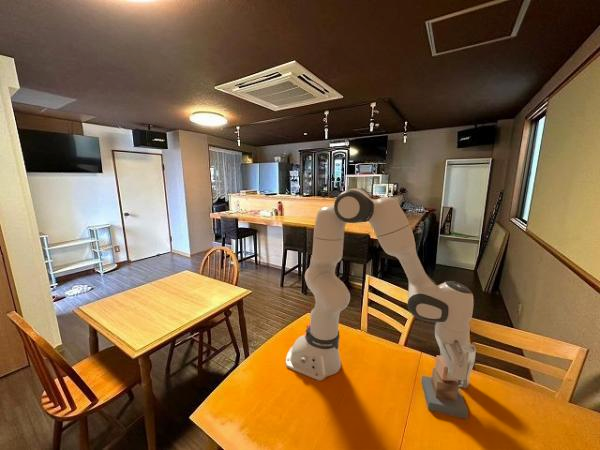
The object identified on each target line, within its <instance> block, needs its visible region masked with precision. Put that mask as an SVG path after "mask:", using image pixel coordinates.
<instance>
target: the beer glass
mask: <svg viewBox="0 0 600 450" xmlns="http://www.w3.org/2000/svg"><path fill="white" fill-rule="evenodd" d="M462 349H463V350H464V352H465V354H466V357H467V376H466V380H464V381H462V380H459V381H457V383H458V386H459V389H460V388H461V389H467V388H469V387H470V374H471V372H472V370H473V367H474V365H475V361H476V350H477V349H476V347H475V345H473V344H472V343H471V342H469V341H468V343H467V344H466V345H463V346H462Z"/></svg>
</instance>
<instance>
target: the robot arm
mask: <svg viewBox="0 0 600 450" xmlns="http://www.w3.org/2000/svg"><path fill="white" fill-rule="evenodd" d="M367 222H368V223H369V224H370V226H371V227H372V229H373V232H374V234H375V236H376V239H377V241H378V243H379V246H380V247H381V248H382V250H383V251H384V252H385V253H386V255H389V256H391V257H395V258H396V259H398V261H399V263H400V264H401V267H402V268H403V270H404V273H405V274H406V275H405V276H406V278H407V280H408V285H407V291H408V292H407V293H408V295H407V309H408V311H409V312H410V314H411V315H412V316H413V317H415V318H416V319H418V320H421V321H426V322H433V323H434V337H435V339H436V343H437V345H438V347H439V348H438V349H439V352H440V353H439V355H441V356H443V358H444V360H445V363H446V365H447V368H448V370H447V372H446V375H447V378H448V379H452V380H453V379H457V380H462V381H464V380H466V376H467V357H466V354H465V352H464V350H463V349H462V346H463V345H466V344H467V343H468V342H469V338H470V331H471V330H470V329H471V324H470V323H471V322H470V321H471V319H472V317H473V311H474V294H473V292H472V291H471V290H470V289H469V288H468V287H467V286H466V285H464V284H462V283H460V282H456V281H453V280H447V281H444V282H442V283H440V284H437V283H436V282H435V281H434V279H432V278H431V276H429V275H428V274H427V273H426V270H425V269H424V266H423V265H422V263H421V260H420V258H419V256H418V253H417V248H416V247H417V245H416V241H415V236H414V233H413V229H412V227H411V224H410V222H409V219H408V217H407V215H406V213H405V212H404V210H403V209H402V207H401V206H400V204H399V203H398V202H397V200H396V199H395V198H393V197H392V196H386V197H385V196H382V197H380V198H376V199H373V198H372V196H371V195H370V193H369V192H368V191H367V190H364V189H362V188H358V187H357V188H356V187H354V188H349V189H347V190H344V191H342V192H340V193H339V194H338V195H337V196H336V199H335V200H334V202H333V205H326V206H323V207H321V208H320V209H318V211H317V214H316V217H315V222H314V227H313V241H312V253H311V260H310V263H309V267H308V268H307V269H306V270H305V272H304V279H305V284H306V286H307V288H308V289H309V291H310V292H311V293H312V295H313V296H314V300H315V305H314V308H312V310H311V311H310V321H309V322H308V323H307V325H306V330H305V332H304V334H303V335H301V336H299V337H297V338H296V340H295V341H294V343H293V345H292V346H291V347H290V348H289V350H288V352H287V354H286V357H285V366H286V368H288V369H290V370H293V371H295V372H298V373H300V374H303V375H304V376H307V377H309V378H312V379H314V380H317V381H323V380H324V379H325V378H326V377H329V376H333V375H335V374H337V373H338V372H339V371H340V370H341V367H342V360H341V356H340V350H339V346H340V339H341V337H340V331H339V323H340V314H341V312H342V311H344V310H345V309H346V308H347V307H348V305H349V303H350V301H351V293H350V290H349V289H348V287H347V286H346V284H345V283H344V281H343V280H341V279H340V278H339V277H338V276H337V275H336V271H335V270H336V267H337V265H338V263H340V261H341V260H342V259H343V252H344V251H343V250H344V241H345V240H344V239H345V229H346V224H357V223H367Z"/></svg>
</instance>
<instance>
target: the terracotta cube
mask: <svg viewBox="0 0 600 450" xmlns="http://www.w3.org/2000/svg"><path fill="white" fill-rule="evenodd" d="M434 368H435V369H436V371H437V372H438V374H439V375H440V377H441V379H442V380H449V381H459V380H457V379H453V380H452V379H448V378H447V375H446V372H447V370H448V368H447V365H446V363H445V360H444V358H443V356H441V354H439V355H437V354H436V357H435V365H434Z"/></svg>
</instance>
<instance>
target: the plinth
mask: <svg viewBox="0 0 600 450" xmlns="http://www.w3.org/2000/svg"><path fill="white" fill-rule="evenodd" d="M431 380H432V376H426V375H421V385H422V390H423V394H424V399H425V403H426V407H427V410H428V411H432V412H436V413H440V414H444V415H448V416H452V417H456V418H460V419H465V420H468V415H469V409H468V407H467V405H466V402H465V400H464V398H463V394H462V393H461V390H460V387H458V393H457V400H456V402H455V401H451V400H446V399H442V398H437V397H435V394H434V390H433V387H432V384H431Z"/></svg>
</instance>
